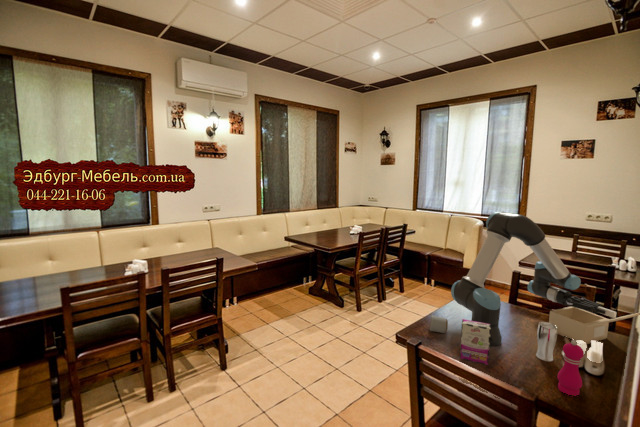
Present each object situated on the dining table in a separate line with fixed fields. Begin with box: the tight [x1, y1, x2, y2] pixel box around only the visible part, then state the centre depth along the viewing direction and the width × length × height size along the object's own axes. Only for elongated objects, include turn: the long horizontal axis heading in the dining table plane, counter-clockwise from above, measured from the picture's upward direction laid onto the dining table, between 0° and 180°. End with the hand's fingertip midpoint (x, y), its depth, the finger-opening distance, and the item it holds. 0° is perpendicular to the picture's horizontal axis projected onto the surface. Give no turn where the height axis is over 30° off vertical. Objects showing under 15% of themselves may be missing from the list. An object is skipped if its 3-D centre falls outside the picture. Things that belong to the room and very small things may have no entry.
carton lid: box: [586, 312, 640, 327], centre depth 141 cm, size 18×16×1 cm
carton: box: [548, 306, 610, 345], centre depth 156 cm, size 18×16×10 cm
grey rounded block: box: [429, 315, 449, 334], centre depth 160 cm, size 11×8×8 cm
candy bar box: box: [459, 318, 491, 366], centre depth 134 cm, size 11×5×16 cm, turn 64°
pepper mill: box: [557, 340, 585, 396], centre depth 114 cm, size 7×7×20 cm
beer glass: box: [535, 321, 558, 363], centre depth 135 cm, size 7×7×15 cm
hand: (615, 315), depth 142 cm, fingers closed
